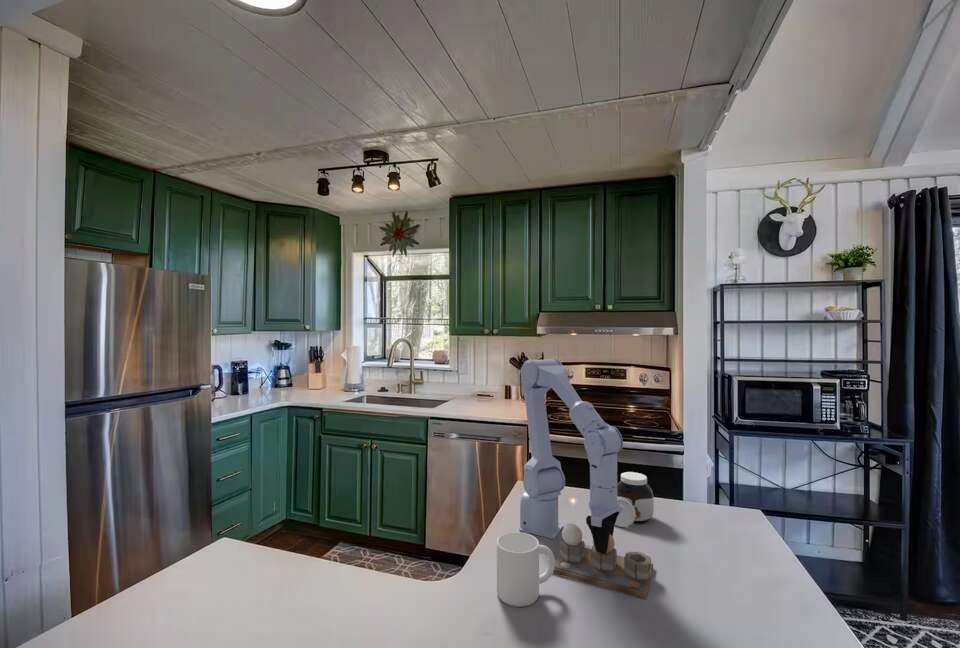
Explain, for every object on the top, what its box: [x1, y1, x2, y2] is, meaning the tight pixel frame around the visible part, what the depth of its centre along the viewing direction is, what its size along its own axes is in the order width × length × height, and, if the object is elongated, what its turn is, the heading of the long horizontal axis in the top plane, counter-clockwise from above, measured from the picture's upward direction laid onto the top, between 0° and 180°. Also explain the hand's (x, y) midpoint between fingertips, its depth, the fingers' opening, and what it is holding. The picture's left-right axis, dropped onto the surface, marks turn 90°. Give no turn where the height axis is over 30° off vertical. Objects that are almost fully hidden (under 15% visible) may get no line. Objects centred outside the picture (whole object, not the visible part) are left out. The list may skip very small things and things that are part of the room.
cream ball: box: [561, 523, 583, 546], centre depth 96 cm, size 4×4×4 cm
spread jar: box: [615, 471, 655, 528], centre depth 116 cm, size 12×11×12 cm
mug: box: [496, 531, 556, 608], centre depth 84 cm, size 12×8×10 cm
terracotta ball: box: [592, 534, 616, 554], centre depth 93 cm, size 4×4×4 cm
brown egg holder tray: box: [552, 538, 654, 600], centre depth 92 cm, size 19×12×4 cm, turn 62°
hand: (603, 546), depth 93 cm, fingers closed on terracotta ball, 4 cm apart
